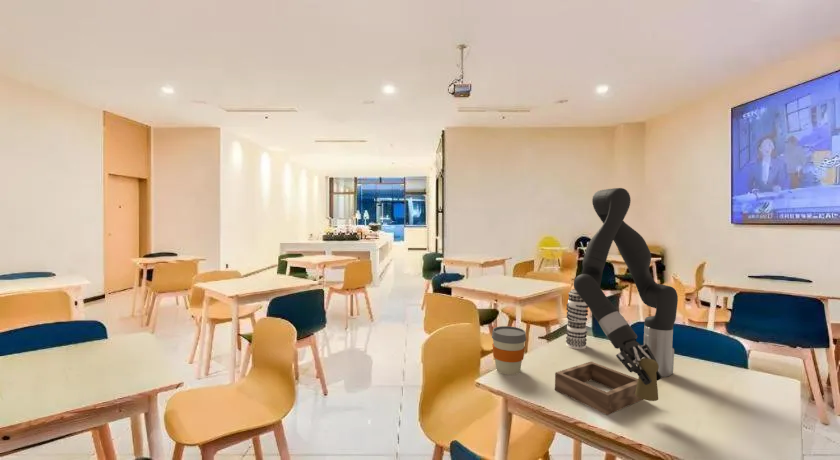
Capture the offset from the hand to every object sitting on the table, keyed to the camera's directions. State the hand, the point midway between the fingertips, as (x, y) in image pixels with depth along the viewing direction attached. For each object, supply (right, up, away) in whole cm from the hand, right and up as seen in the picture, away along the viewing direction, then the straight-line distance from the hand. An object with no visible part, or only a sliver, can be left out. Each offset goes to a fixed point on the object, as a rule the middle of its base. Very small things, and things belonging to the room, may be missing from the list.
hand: (654, 381), depth 117 cm
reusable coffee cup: (-35, -9, +35) cm, 50 cm away
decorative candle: (+2, -8, +63) cm, 63 cm away
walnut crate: (-9, -10, +16) cm, 21 cm away
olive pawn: (-1, -5, +2) cm, 6 cm away
